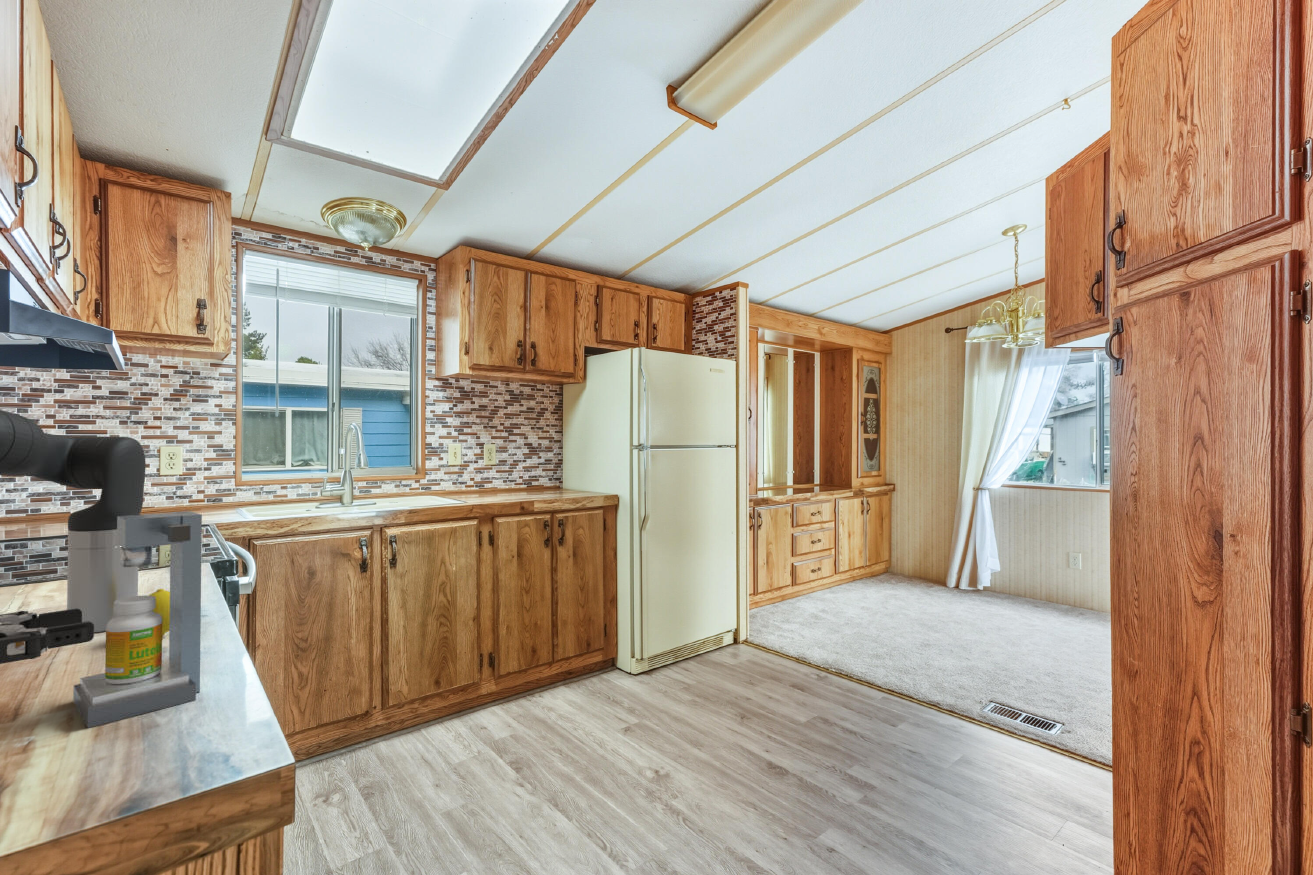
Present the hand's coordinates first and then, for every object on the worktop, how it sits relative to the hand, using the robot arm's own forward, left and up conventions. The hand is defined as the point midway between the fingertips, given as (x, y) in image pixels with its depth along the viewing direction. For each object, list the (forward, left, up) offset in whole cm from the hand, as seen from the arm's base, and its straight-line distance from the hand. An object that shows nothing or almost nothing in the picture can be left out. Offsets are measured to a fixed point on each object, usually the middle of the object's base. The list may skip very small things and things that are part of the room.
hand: (87, 623), depth 73 cm
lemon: (-29, +13, -11) cm, 34 cm away
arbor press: (+2, +5, -11) cm, 12 cm away
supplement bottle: (0, +4, -8) cm, 9 cm away
